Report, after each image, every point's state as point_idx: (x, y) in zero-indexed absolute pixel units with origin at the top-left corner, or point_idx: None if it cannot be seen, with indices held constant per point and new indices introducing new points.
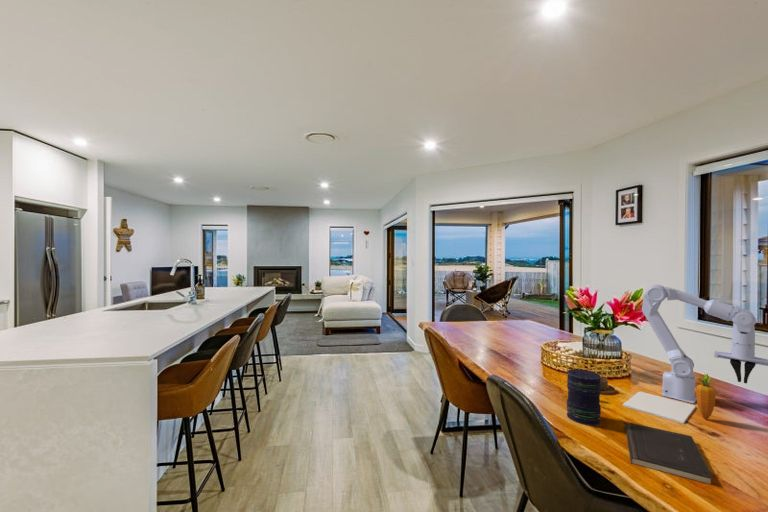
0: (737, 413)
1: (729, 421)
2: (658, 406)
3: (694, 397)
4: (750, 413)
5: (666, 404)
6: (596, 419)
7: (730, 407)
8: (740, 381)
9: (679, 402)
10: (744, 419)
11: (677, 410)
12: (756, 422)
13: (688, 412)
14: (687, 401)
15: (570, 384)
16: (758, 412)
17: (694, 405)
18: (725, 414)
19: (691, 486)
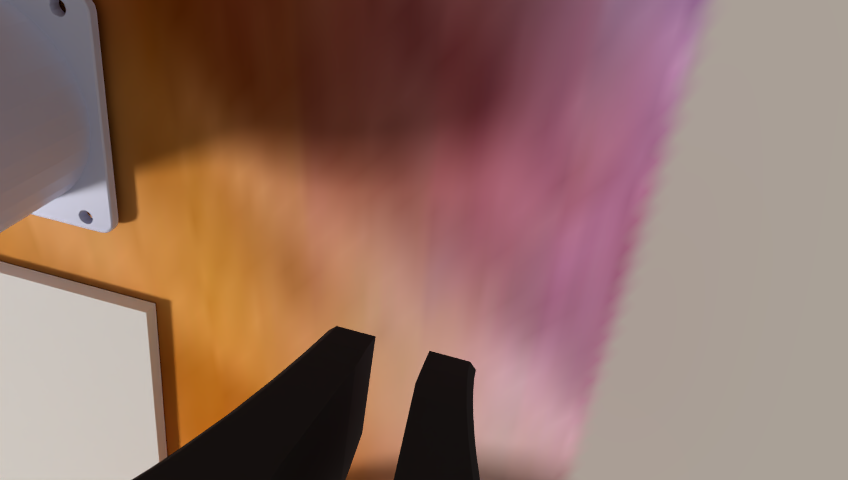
0: (442, 245)
1: (376, 467)
2: (1, 465)
3: (72, 137)
4: (562, 158)
5: (11, 404)
6: None
7: (393, 77)
8: (355, 449)
9: (43, 307)
10: (479, 371)
11: (96, 478)
12: (558, 390)
13: None
14: (70, 222)
15: None
16: (665, 48)
17: (137, 310)
18: None
19: None
